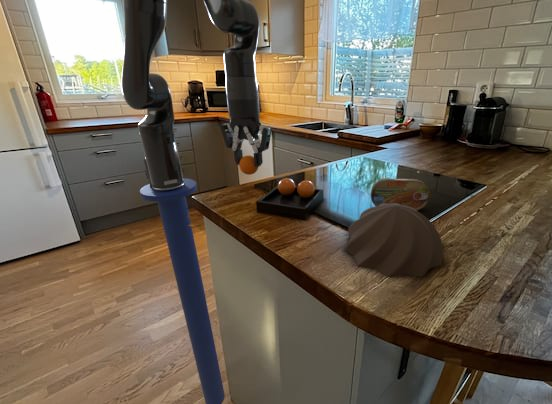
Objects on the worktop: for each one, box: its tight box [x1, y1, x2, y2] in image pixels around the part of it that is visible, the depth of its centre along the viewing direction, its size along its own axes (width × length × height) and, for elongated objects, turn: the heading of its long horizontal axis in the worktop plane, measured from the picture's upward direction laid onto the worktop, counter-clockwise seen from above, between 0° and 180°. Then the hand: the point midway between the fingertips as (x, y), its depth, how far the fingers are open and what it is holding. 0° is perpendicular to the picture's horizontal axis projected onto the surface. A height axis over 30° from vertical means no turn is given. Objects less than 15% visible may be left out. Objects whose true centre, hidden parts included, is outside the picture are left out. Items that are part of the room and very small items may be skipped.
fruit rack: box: [255, 177, 324, 221], centre depth 82 cm, size 14×14×6 cm
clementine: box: [238, 155, 259, 176], centre depth 78 cm, size 5×5×5 cm
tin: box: [370, 177, 431, 212], centre depth 79 cm, size 15×3×8 cm, turn 82°
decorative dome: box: [344, 203, 444, 278], centre depth 60 cm, size 19×20×10 cm
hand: (248, 164), depth 78 cm, fingers closed on clementine, 5 cm apart
